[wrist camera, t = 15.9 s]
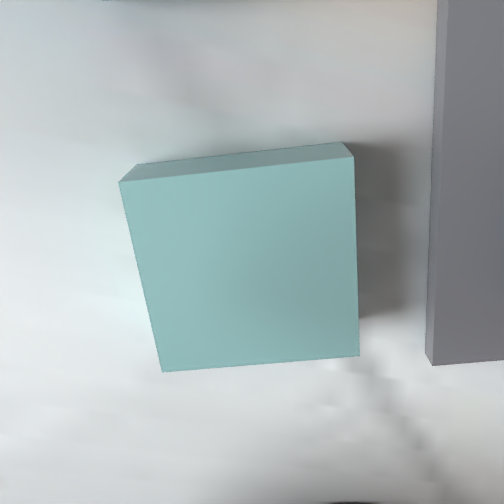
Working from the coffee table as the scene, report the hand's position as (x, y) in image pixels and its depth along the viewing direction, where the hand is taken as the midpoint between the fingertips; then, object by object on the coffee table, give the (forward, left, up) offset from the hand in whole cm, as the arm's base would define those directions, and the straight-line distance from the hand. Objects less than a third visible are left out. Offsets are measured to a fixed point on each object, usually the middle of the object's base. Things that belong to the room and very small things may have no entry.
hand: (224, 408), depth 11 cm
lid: (0, 0, -10) cm, 10 cm away
